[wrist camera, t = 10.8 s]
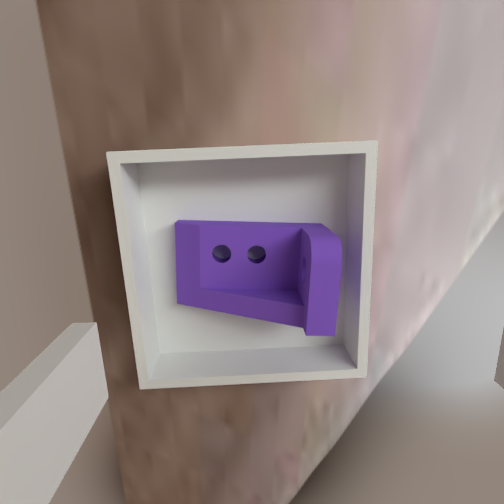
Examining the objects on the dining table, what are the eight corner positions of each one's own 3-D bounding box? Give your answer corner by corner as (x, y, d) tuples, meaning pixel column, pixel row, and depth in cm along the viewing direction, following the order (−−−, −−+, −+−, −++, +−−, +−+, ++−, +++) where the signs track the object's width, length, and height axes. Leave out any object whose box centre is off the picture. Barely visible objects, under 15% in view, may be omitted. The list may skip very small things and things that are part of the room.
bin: (127, 153, 28) (106, 151, 23) (356, 144, 28) (377, 140, 24) (153, 358, 32) (139, 389, 28) (349, 348, 33) (366, 377, 28)
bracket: (321, 223, 29) (344, 240, 22) (315, 299, 31) (335, 336, 24) (178, 219, 29) (159, 236, 22) (180, 296, 30) (162, 333, 24)
